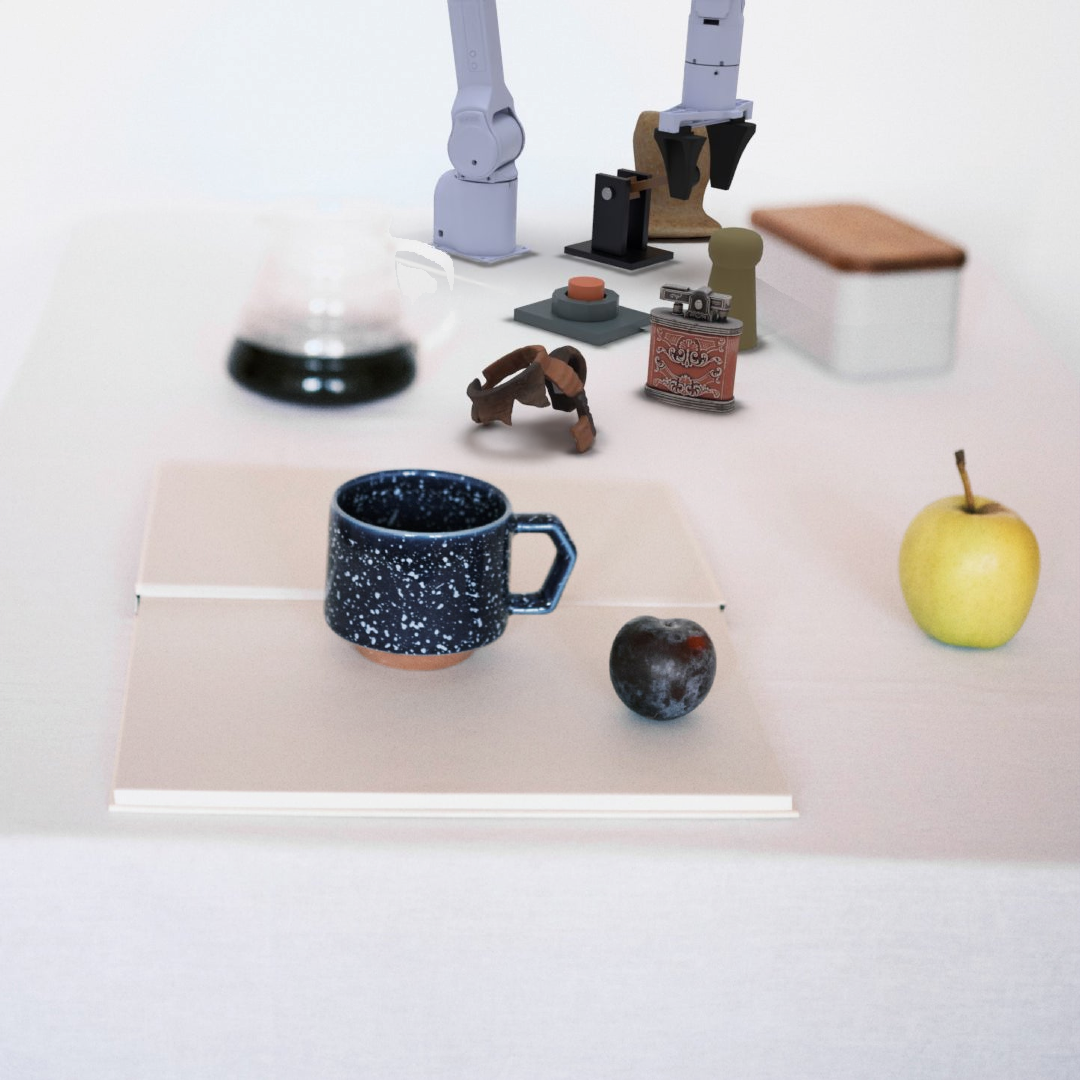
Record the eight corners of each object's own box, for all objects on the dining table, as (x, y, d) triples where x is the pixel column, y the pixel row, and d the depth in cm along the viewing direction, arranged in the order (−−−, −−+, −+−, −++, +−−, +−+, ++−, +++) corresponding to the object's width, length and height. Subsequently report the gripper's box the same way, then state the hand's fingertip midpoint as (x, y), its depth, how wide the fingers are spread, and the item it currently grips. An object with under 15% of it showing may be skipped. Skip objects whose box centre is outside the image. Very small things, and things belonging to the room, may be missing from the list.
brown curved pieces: (579, 474, 105) (527, 385, 102) (485, 495, 111) (434, 412, 108) (636, 390, 113) (590, 305, 110) (546, 414, 119) (500, 334, 116)
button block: (513, 320, 138) (514, 290, 136) (571, 302, 144) (572, 274, 143) (598, 346, 131) (600, 316, 130) (655, 327, 138) (657, 297, 136)
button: (560, 297, 136) (560, 280, 135) (583, 291, 139) (584, 274, 138) (588, 306, 134) (589, 288, 133) (611, 298, 137) (612, 281, 136)
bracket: (673, 262, 160) (680, 176, 156) (631, 274, 155) (637, 186, 150) (606, 245, 166) (611, 162, 161) (563, 256, 160) (567, 171, 156)
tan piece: (706, 223, 178) (717, 103, 171) (728, 247, 167) (741, 120, 160) (590, 222, 176) (597, 100, 169) (605, 246, 165) (613, 117, 158)
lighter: (738, 402, 119) (751, 290, 115) (726, 415, 116) (739, 300, 112) (652, 386, 122) (660, 275, 118) (638, 397, 119) (646, 284, 115)
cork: (737, 356, 130) (749, 241, 126) (683, 341, 134) (693, 229, 129) (768, 341, 135) (781, 229, 130) (715, 328, 138) (726, 218, 133)
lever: (708, 185, 151) (703, 155, 150) (691, 189, 149) (685, 159, 148) (625, 204, 159) (619, 176, 158) (607, 208, 157) (602, 180, 156)
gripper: (703, 72, 137) (691, 209, 143) (782, 62, 146) (767, 190, 153) (646, 64, 141) (637, 197, 147) (727, 54, 151) (714, 179, 157)
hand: (700, 193), depth 150 cm, fingers open, 7 cm apart
